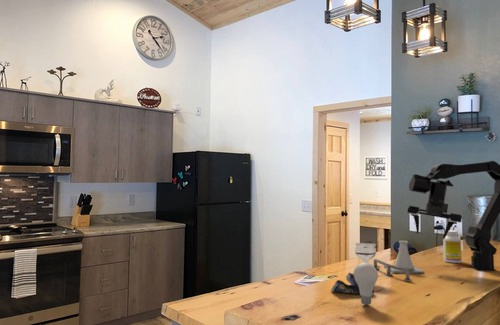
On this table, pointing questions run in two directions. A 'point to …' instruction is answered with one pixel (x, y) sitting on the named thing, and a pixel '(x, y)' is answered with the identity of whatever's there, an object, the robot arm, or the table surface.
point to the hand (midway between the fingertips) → (430, 236)
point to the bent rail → (392, 267)
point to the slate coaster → (412, 271)
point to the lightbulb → (365, 281)
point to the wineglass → (365, 251)
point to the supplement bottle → (452, 247)
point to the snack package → (346, 288)
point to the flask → (404, 257)
